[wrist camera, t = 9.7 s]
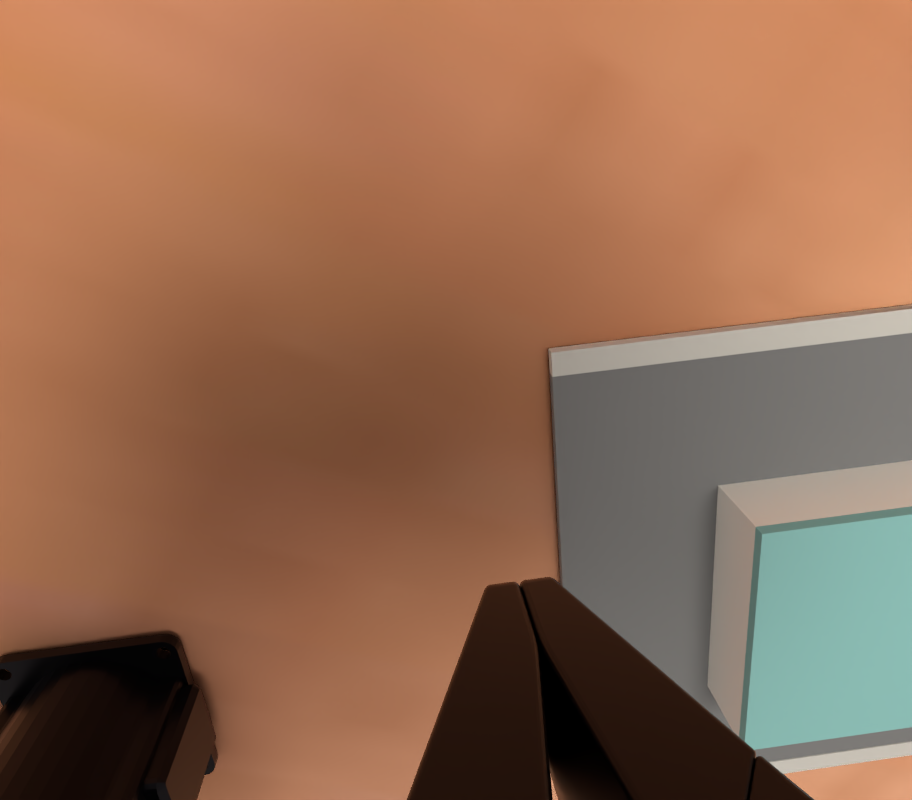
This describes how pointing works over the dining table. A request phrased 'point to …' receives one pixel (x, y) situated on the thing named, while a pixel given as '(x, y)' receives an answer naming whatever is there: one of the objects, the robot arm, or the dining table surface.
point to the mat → (713, 469)
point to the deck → (813, 605)
